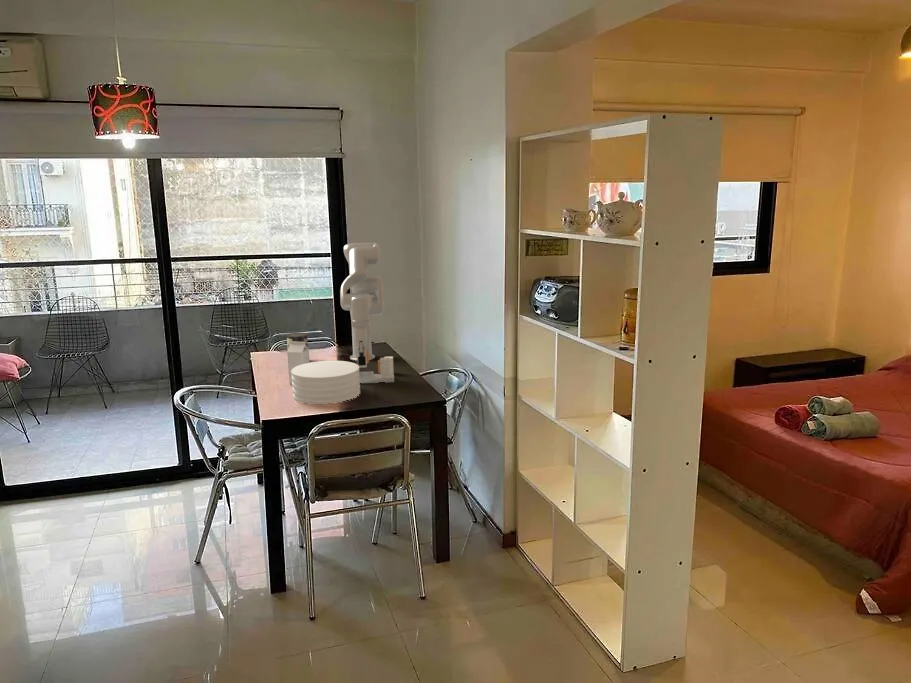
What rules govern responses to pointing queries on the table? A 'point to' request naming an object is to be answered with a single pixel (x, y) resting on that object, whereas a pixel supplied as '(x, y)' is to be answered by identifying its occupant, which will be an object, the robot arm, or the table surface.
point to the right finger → (365, 357)
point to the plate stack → (325, 382)
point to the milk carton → (297, 356)
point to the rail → (376, 378)
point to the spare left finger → (390, 364)
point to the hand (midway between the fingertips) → (362, 363)
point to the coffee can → (297, 338)
